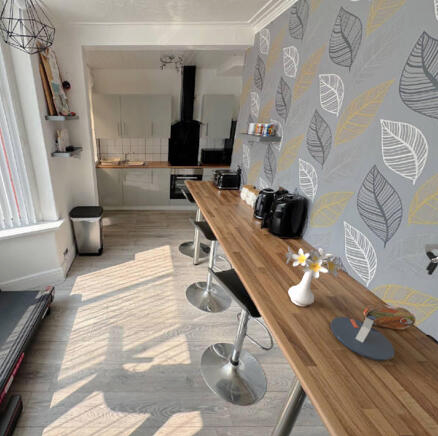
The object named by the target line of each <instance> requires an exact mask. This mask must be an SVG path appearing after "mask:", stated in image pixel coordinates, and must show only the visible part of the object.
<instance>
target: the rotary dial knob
mask: <svg viewBox="0 0 438 436" xmlns="http://www.w3.org/2000/svg"><path fill="white" fill-rule="evenodd" d="M373 322H374V321H373V320H371V319H369V318H366V319H365V318H364V320H363V321H361V320H358V319H356V318H352V317H347V316H337V317H335V318H333V319H331V322H330V329H331V332H332V334H333V335H334V336H335V338H336V339H337V340H338V341H339V342H340V343H341V344H342V345H343V346H346V348H348V349H350V350H351V351H352V352H354V353H356V354H357V355H359V356H362V357H364V358H367V359H369V360H373V361H376V362H377V361H378V362H387V361H388V362H389V361H390V360H392V359H393V358H394V357H395V348H394V346H393V344H392V343H391V342H390V340H389V339H388V338H387V337H386V336H385V335H384V334H382V333H381V332H380V331H379V330H377V329H376V328H374V327H373V325H372V324H373Z"/></svg>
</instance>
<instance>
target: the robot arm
mask: <svg viewBox="0 0 438 436" xmlns="http://www.w3.org/2000/svg"><path fill="white" fill-rule="evenodd" d="M433 250H438V243H428V244H427V243H426V244H425V245H424V251H425V255H426V256H427V257H428V259H429V261H430V262H429V263H428V264H427V266H426V268H425V270H426V271H427V275H429V276H432V275H433V273H434V271H435V270H436V268H437V267H438V255H435V254H434V252H433Z"/></svg>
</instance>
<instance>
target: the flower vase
mask: <svg viewBox="0 0 438 436" xmlns="http://www.w3.org/2000/svg"><path fill="white" fill-rule="evenodd" d="M287 250H288V252H286V253H285V258H287V260H286V262H285V263H286V265H288V264H289V263H290V262H291V260H294V262H293V263H292V267H297V266H298V265H301V266H302V267H304V268H303V269H302V271H303V272H304V274H303V277H302V279H301V281H300V282H299V283H298V284H296V285H292V286H290V287H289V289H288V296H289V298H290V301H291V302H292V303H293V304H295V305H296V306H299V307H303V308H304V307H307V306H310V305H312V304H313V303H314V302H315V299H316V298H315V294H314V292H312V289H311V285H312V282H313V279H319V277H320V273H325V274H327V275H328V274H332V275H333V276H334V278H338V271H337V270H342V269H343V265H342V264H341V263H340V264H339V263H337V262H338V256H335V255H334V254H333V253H325V251H324V249H323V248H321V247H319V248H318V252H317V251H316V250H315V248H312V249H310V250H309V252H304V249H302V248H299V249H298V253H297V254H295V253H294V252H293V250H292V249H291V247H290V246H289V245H288V246H287ZM322 265H323V266H322ZM305 266H306V267H305ZM324 266H325V267H324ZM326 267H327V268H326Z"/></svg>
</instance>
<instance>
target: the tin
mask: <svg viewBox="0 0 438 436" xmlns="http://www.w3.org/2000/svg"><path fill="white" fill-rule="evenodd" d="M362 315H363V318H364V320H365V319H366V318H369V319H371V320H373V321H374V322H373V324H372V326H375V327H382V328H387V329H391V330H398V331H401V330H402V331H404V330H407V329H410V328H412V327H413V326H414V325H415V323H416V317H415V315H414V314H413V313H411V312H410V311H409V310H407V309H406V308H404V307H399V306H394V305H386V304H380V303H372V304H369V305H367V306H366V307H365V308H364V309H363V312H362Z"/></svg>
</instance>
